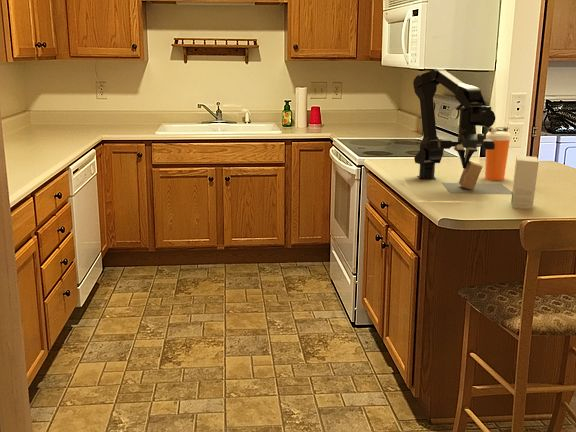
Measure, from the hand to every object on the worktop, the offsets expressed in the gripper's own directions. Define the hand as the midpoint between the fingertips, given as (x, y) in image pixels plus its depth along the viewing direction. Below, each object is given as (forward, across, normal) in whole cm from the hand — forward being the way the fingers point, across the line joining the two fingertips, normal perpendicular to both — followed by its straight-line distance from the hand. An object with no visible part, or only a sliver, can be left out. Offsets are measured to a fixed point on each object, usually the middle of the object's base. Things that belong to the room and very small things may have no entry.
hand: (464, 168), depth 228 cm
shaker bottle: (+8, +16, +19) cm, 26 cm away
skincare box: (+8, +14, -24) cm, 29 cm away
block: (+6, +1, 0) cm, 7 cm away
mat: (+8, +5, 0) cm, 9 cm away
